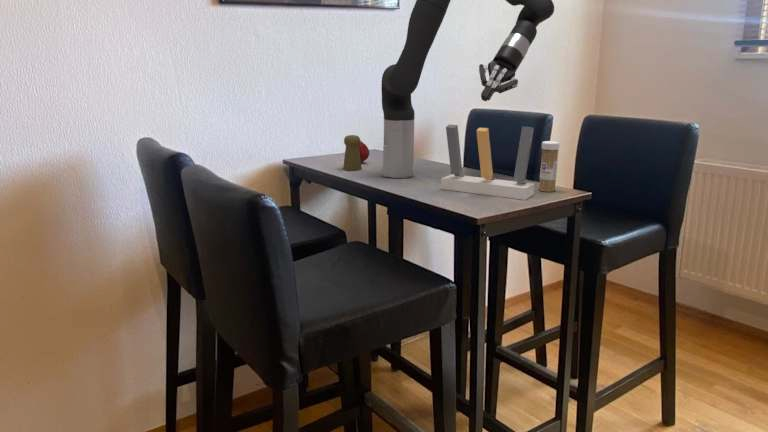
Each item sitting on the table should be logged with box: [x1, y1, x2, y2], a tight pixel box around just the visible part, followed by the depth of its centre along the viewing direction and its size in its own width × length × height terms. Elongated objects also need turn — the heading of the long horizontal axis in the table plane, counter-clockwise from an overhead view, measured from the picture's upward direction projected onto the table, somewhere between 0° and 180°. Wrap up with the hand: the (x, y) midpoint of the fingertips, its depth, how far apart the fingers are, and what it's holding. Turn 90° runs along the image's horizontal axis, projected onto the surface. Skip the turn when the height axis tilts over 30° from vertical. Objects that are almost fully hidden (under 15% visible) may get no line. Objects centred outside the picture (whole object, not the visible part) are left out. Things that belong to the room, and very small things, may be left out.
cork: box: [342, 134, 363, 172], centre depth 192 cm, size 6×6×11 cm
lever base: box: [440, 174, 535, 201], centre depth 162 cm, size 24×7×3 cm, turn 58°
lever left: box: [445, 124, 463, 177], centre depth 163 cm, size 3×2×15 cm
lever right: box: [513, 125, 535, 184], centre depth 157 cm, size 3×2×15 cm
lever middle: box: [476, 127, 494, 180], centre depth 158 cm, size 3×2×15 cm
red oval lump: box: [359, 139, 370, 164], centre depth 203 cm, size 6×6×8 cm
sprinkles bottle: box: [538, 140, 560, 193], centre depth 163 cm, size 5×5×13 cm
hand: (483, 99), depth 172 cm, fingers closed
